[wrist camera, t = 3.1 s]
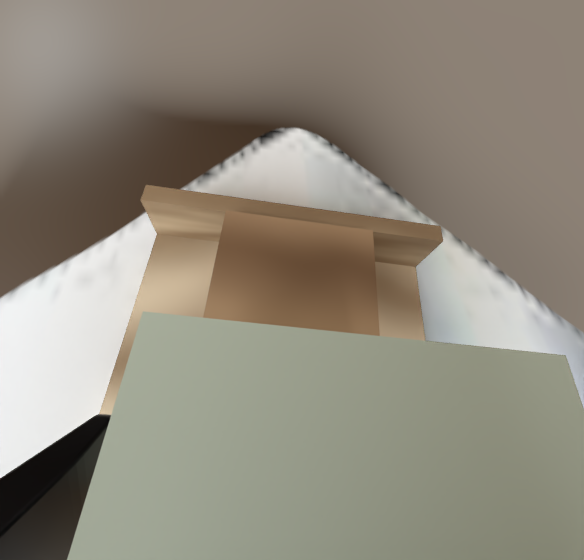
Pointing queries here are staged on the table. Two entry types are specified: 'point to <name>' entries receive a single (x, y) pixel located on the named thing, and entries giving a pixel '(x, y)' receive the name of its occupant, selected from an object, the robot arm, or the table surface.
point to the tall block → (334, 449)
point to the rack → (211, 210)
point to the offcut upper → (294, 275)
